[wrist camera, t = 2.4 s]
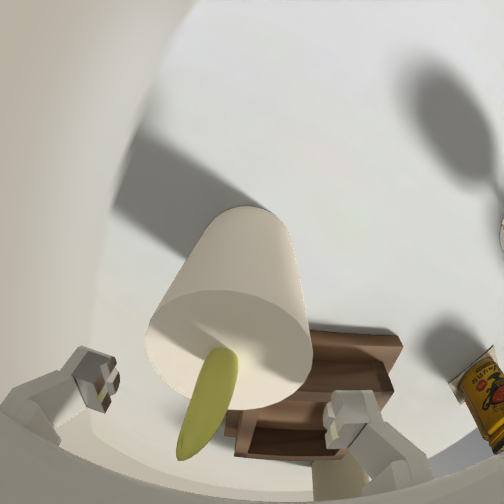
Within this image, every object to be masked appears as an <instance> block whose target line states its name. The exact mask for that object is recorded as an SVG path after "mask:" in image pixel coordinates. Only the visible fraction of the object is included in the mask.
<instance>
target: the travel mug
mask: <svg viewBox="0 0 504 504" xmlns="http://www.w3.org/2000/svg"><path fill="white" fill-rule="evenodd" d="M312 479H313V496H314V501H328V500H339V499H348V498H355V497H362V496H363V495H362V489H363V488H364V487H365V486H366V485H367V484H368V483H370V482H369V476H368V474H367V473H366V471H365V470H364V469H363V468H362V467H361V465H360V464H359V463H358V462H357V461H356V459H355V458H354V457H353V456H352V455H351V453H350V452H349V451H348V452H347V454H346V455H345V456H344V457H343V458H342V459H341V460H321V461H314V462H313V463H312Z"/></svg>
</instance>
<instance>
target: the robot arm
mask: <svg viewBox="0 0 504 504" xmlns="http://www.w3.org/2000/svg"><path fill="white" fill-rule="evenodd" d="M116 364H117V363H116V359H115V357H113V356H110V355H107V354H104V353H101V352H98V351H95V350H93V349H90V348H87V347H84V346H80V347H78V348H77V349H76V350H75V352H74V353H73V354H72V356H71V357H70V358H69V360H68V361H67V362H66V364H65V365H64V366H63V368H62V369H61V370H60V371H58V370H56V371H53V372H51V373H49V374H46V375H44V376H42V377H39V378H37V379H34V380H32V381H29V382H27V383H24V384H22V385H19V386H17V387H14V388H13V389H12V390H11V391H10V393H9V394H8V395H7V397H6V398H5V400H4V401H3V402H2V403H1V405H0V504H504V457H502V456H501V455H494V456H491V457H489V458H487V459H485V460H483V461H481V462H478V463H477V464H474V465H472V466H469V467H467V468H465V469H462V470H460V471H457V472H454V473H451V474H449V475H446V476H443V477H440V478H437V479H433V475H432V472H431V469H430V466H429V463H428V460H427V457H426V454H425V453H424V452H422V451H421V450H420V449H419V448H417V447H416V446H415V445H414V444H413V443H411V442H410V441H409V440H408V439H407V438H405V437H404V436H403V435H402V434H401V433H399V432H398V431H397V430H396V429H395V428H393V427H392V426H391V425H390V424H389V423H388V422H383V419H382V416H381V413H380V410H379V407H378V404H377V401H376V398H375V395H374V392H373V391H372V390H335V391H333V392H332V394H331V396H330V397H331V401H330V402H329V403H327V404H326V406H325V408H324V412H323V426H324V427H325V428H326V429H327V430H328V431H327V432H326V434H325V440H326V447H327V449H347V450H348V451H349V452H350V453H351V455H352V456H353V457H354V458H355V459H356V461H357V462H358V463H359V464H360V465H361V467H362V468H363V469H364V470H365V471H366V473H367V474H368V475H369V476H370V477H371V479H372V481H371V482H370V483H368V484H367V485H366V486H365V487H364V488H363V489H362V495H363V496H362V497H355V498H348V499H339V500H328V501H313V502H261V501H247V500H236V499H227V498H219V497H212V496H206V495H200V494H195V493H190V492H184V491H180V490H176V489H171V488H167V487H163V486H159V485H156V484H152V483H149V482H145V481H142V480H139V479H135V478H132V477H129V476H126V475H123V474H121V473H118V472H115V471H112V470H110V469H107V468H104V467H102V466H99V465H96V464H95V463H92V462H90V461H87V460H85V459H83V458H81V457H79V456H77V455H74V454H72V453H70V452H68V451H66V450H64V449H62V448H60V447H58V446H59V444H60V443H61V438H60V436H59V435H58V434H57V432H56V431H55V428H57V427H58V426H60V425H61V424H63V423H65V422H66V421H68V420H69V419H71V418H72V417H74V416H76V415H77V414H79V413H80V412H82V411H83V410H85V409H86V408H87V407H88V408H90V409H93V410H96V411H99V412H102V413H106V411H107V409H108V407H109V405H110V403H111V398H110V396H111V395H113V394H115V393H116V392H117V389H118V387H119V383H120V375H119V371H118V370H117V369H116V368H115V366H116Z"/></svg>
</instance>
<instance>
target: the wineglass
mask: <svg viewBox="0 0 504 504" xmlns="http://www.w3.org/2000/svg"><path fill="white" fill-rule="evenodd" d="M500 243H501V246H502V249H503V250H504V219H503V222H502V226H501V231H500Z"/></svg>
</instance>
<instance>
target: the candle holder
mask: <svg viewBox="0 0 504 504" xmlns="http://www.w3.org/2000/svg"><path fill="white" fill-rule="evenodd" d="M309 331H310V337H311V343H312V349H313V360H312V368H311V371H310V373H309V374H308V376H307V378H306V380H305V382H304V383H303V384H302V385H301V386H300V387H299V388H298V389H297V390H296V391H295V392H294V393H293V394H292V395H290V396H288V397H287V398H285V399H283V400H282V401H280V402H278V403H275V404H272V405H269V406H266V407H262V408H256V409H248V410H229V409H228V410H227V418H226V426H225V433H224V436H230V437H236V444H235V453H234V456H235V457H244V458H254V459H267V460H288V461H321V460H341V459H342V458H343V457H344V456H345V455H346V454H347V452H348V450H347V449H327V447H326V440H325V434H326V432H327V431H328V430H327V429H326V428H325V427H324V426H323V412H324V408H325V406H326V404H327V403H329V402H330V401H331V397H330V396H331V394H332V392H333V391H335V390H372V391H373V392H374V395H375V398H376V401H377V404H378V407H379V410H380V411H381V410H382V409H383V407H384V406H385V404H386V403H387V402H388V400H389V399H390V397H391V396H392V394H393V393H394V389H393V386H392V383H391V381H390V378H389V376H388V374H389V372H390V370H391V369H392V367H393V365H394V363H395V362H396V360H397V358H398V356H399V354H400V352H401V351H402V349H403V345H402V343H401V341H400V339H399V337H398V336H385V335H365V334H349V333H335V332H323V331H312V330H309Z"/></svg>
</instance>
